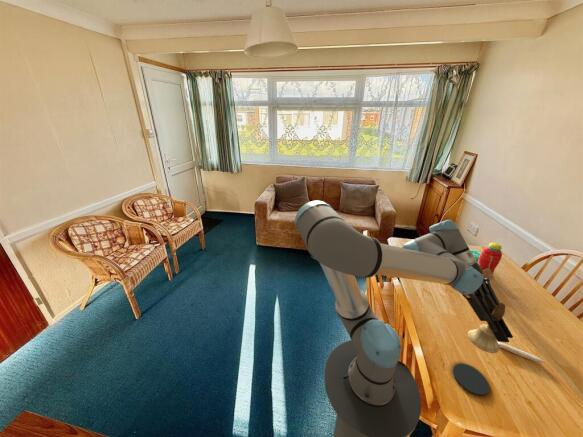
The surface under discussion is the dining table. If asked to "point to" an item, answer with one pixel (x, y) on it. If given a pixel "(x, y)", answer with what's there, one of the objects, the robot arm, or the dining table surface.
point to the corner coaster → (470, 379)
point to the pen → (519, 352)
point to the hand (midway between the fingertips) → (505, 339)
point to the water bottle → (490, 260)
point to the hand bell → (487, 333)
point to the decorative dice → (476, 254)
